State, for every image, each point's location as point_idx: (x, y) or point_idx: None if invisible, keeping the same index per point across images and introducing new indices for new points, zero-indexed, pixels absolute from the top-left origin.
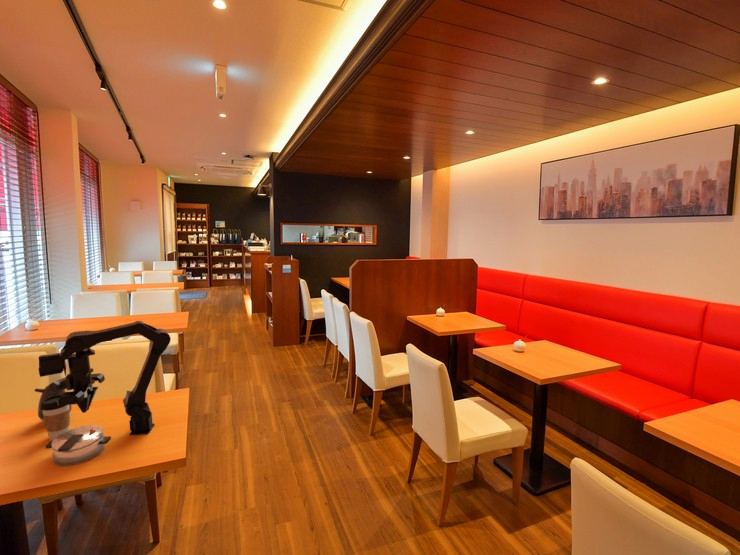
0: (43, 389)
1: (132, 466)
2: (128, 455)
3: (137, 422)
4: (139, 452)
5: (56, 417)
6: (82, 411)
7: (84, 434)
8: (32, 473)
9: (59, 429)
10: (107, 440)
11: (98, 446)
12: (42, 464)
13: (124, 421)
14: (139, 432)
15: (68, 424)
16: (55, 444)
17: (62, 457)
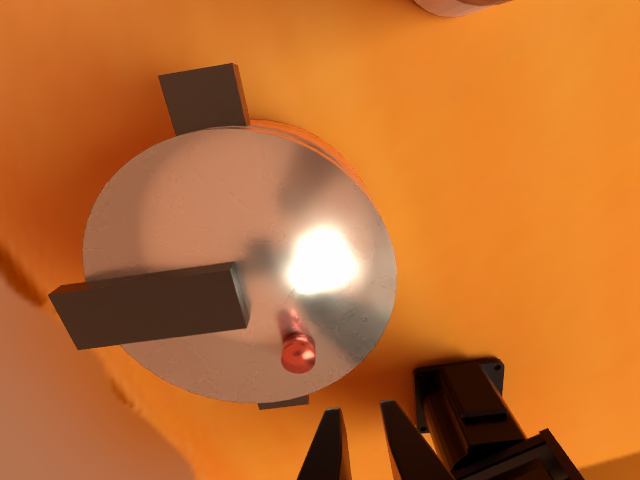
0: None
1: (198, 469)
2: (260, 431)
3: (439, 455)
4: (282, 453)
5: None
6: (320, 429)
7: (271, 312)
8: (58, 116)
9: None
10: (271, 405)
11: None
12: (138, 105)
13: (573, 273)
14: (421, 407)
15: (504, 2)
16: (122, 205)
17: None
